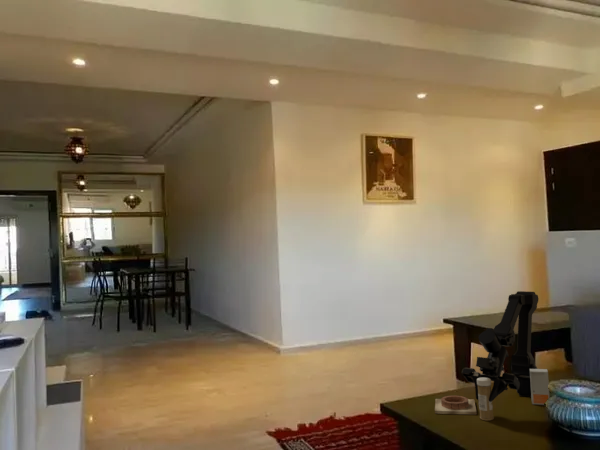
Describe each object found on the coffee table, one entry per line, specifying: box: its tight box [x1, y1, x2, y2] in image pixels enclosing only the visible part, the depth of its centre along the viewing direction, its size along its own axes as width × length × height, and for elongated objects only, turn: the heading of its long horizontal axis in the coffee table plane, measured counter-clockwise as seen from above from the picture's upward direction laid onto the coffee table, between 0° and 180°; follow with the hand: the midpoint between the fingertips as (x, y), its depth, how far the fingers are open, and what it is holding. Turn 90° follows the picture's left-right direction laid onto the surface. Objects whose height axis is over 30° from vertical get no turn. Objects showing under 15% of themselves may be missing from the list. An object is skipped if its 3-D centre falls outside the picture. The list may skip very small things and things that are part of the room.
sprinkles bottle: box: [477, 377, 494, 422], centre depth 178 cm, size 5×5×13 cm
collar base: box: [434, 395, 478, 415], centre depth 191 cm, size 14×14×3 cm
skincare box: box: [530, 368, 551, 406], centre depth 190 cm, size 6×4×12 cm
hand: (483, 400), depth 177 cm, fingers closed on sprinkles bottle, 4 cm apart
